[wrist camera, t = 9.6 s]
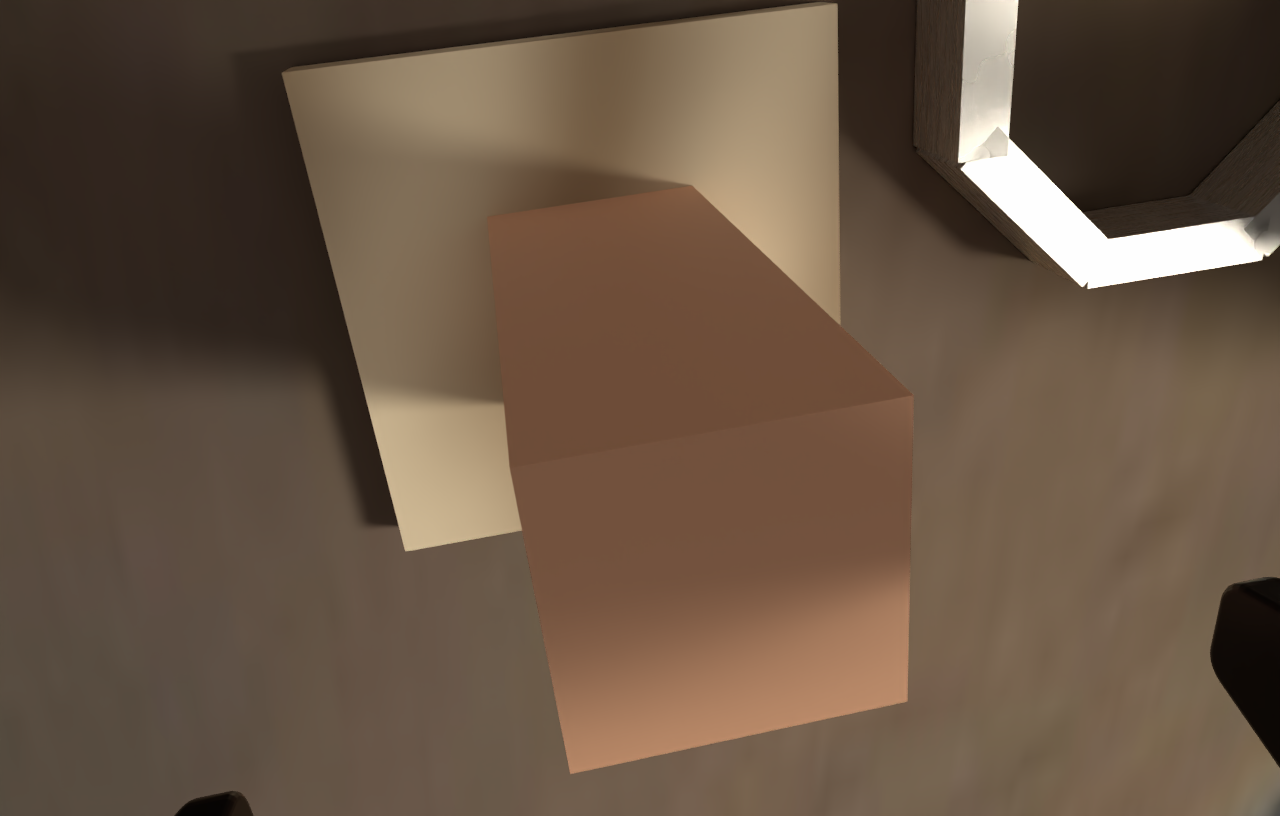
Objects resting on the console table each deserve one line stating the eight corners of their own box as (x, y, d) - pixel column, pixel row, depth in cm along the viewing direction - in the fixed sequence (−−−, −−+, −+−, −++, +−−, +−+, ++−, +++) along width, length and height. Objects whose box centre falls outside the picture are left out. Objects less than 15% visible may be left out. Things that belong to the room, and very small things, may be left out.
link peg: (692, 185, 18) (913, 395, 9) (708, 372, 20) (906, 701, 11) (487, 216, 18) (510, 467, 9) (522, 405, 19) (570, 773, 11)
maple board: (818, 2, 18) (837, 3, 17) (826, 452, 22) (841, 472, 22) (291, 67, 17) (281, 72, 16) (407, 527, 21) (405, 551, 20)
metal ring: (1426, -305, 18) (1535, -336, 16) (1313, 217, 22) (1388, 239, 20) (923, -257, 16) (978, -285, 15) (909, 281, 21) (951, 310, 19)
